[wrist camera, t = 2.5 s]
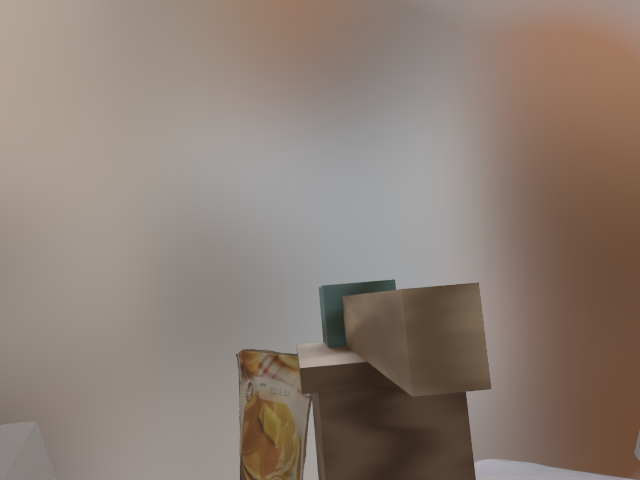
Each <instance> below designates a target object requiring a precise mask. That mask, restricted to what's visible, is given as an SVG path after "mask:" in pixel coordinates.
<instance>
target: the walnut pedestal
mask: <svg viewBox="0 0 640 480" xmlns="http://www.w3.org/2000/svg"><path fill="white" fill-rule="evenodd" d="M297 358H298V367H299V375H300V383H301V391H302V394H310V393H312V403H313V416H314V428H315V439H316V450H317V451H316V452H317V464H318V476H319V480H476V478H475V470H474V462H473V452H472V443H471V434H470V425H469V417H468V408H467V399H466V392H456V393H446V394H436V395H426V396H416V397H412V396H411V395H410V394H408V393H407V392H406V391H405V390H403V389H402V388H401V387H399V386H398V385H397V384H395V383H394V382H393V381H392V380H390V379H389V378H388V377H386V376H385V375H384V374H382V373H381V372H380V371H379V370H377V369H376V368H375V367H373V366H372V365H371V364H369V363H368V362H367V361H366V360H364V359H363V358H362V357H360V356H359V355H358V354H356V353H355V352H354V351H353V350H351V349H350V348H349V347H347V346H338V347H327V346H326V344H325V343H324V342H319V343H308V344H297Z"/></svg>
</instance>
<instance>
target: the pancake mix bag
mask: <svg viewBox="0 0 640 480" xmlns="http://www.w3.org/2000/svg"><path fill="white" fill-rule="evenodd" d="M236 356H237V360H238V368H239V394H240V432H241V433H240V480H303V469H304V463H305V457H306V442H307V431H308V421H309V413H310V407H311V401H312V393H310V394H302V391H301V383H300V375H299V367H298V358H297V354H289V353H279V352H274V351H268V350H254V349H252V350H251V349H250V350H248V349H247V350H242V351H240V352H239V353H238V354H236Z"/></svg>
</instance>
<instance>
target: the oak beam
mask: <svg viewBox="0 0 640 480" xmlns="http://www.w3.org/2000/svg"><path fill="white" fill-rule="evenodd" d="M319 294H320V305H321V318H322V330H323V341H324V343H325V344H326V346H327V347H338V346H347V347H349V348H350V349H351V350H353V351H354V352H355V353H356V354H358V355H359V356H360V357H362V358H363V359H364V360H366V361H367V362H368V363H369V364H371V365H372V366H373V367H375V368H376V369H377V370H379V371H380V372H381V373H382V374H384V375H385V376H386V377H388V378H389V379H390V380H392V381H393V382H394V383H395V384H397V385H398V386H399V387H401V388H402V389H403V390H405V391H406V392H407V393H408V394H410V395H411V396H412V397H416V396H426V395H436V394H446V393H456V392H466V391H475V390H486V389H491V383H490V374H489V366H488V357H487V349H486V340H485V332H484V323H483V315H482V306H481V299H480V290H479V283H469V284H457V285H446V286H434V287H423V288H411V289H401V290H396V287H395V280H385V281H373V282H361V283H349V284H337V285H326V286H321V287H319Z"/></svg>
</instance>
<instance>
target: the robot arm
mask: <svg viewBox="0 0 640 480" xmlns="http://www.w3.org/2000/svg"><path fill="white" fill-rule="evenodd" d="M634 454H635V456H636V457H637V458H638V459H639V461H640V431H639V436H638V440H637V445H636V449H635V453H634ZM0 480H56V477H55V474H54V471H53V469H52V465H51V463H50V460H49V457H48V454H47V451H46V448H45V445H44V442H43V439H42V436H41V433H40V430H39V427H38V425H37V422H36V421H33V422H23V423H14V424H5V425H0Z"/></svg>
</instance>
